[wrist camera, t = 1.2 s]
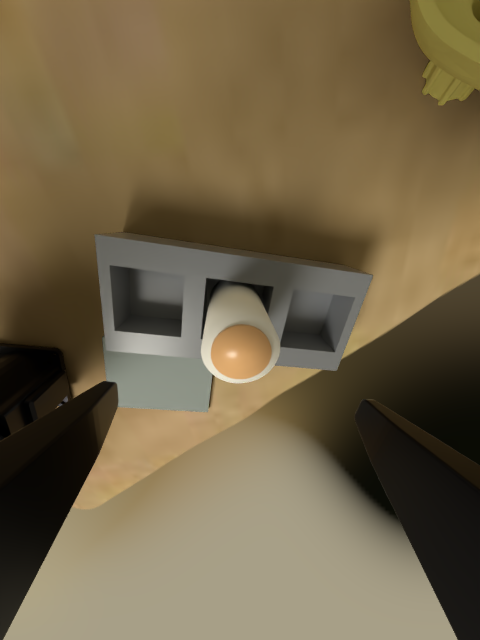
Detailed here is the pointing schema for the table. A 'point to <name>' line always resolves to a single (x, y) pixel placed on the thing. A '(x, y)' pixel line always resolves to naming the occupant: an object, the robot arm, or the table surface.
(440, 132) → the table surface
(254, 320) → the plug
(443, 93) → the plastic component
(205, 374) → the mat
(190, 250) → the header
